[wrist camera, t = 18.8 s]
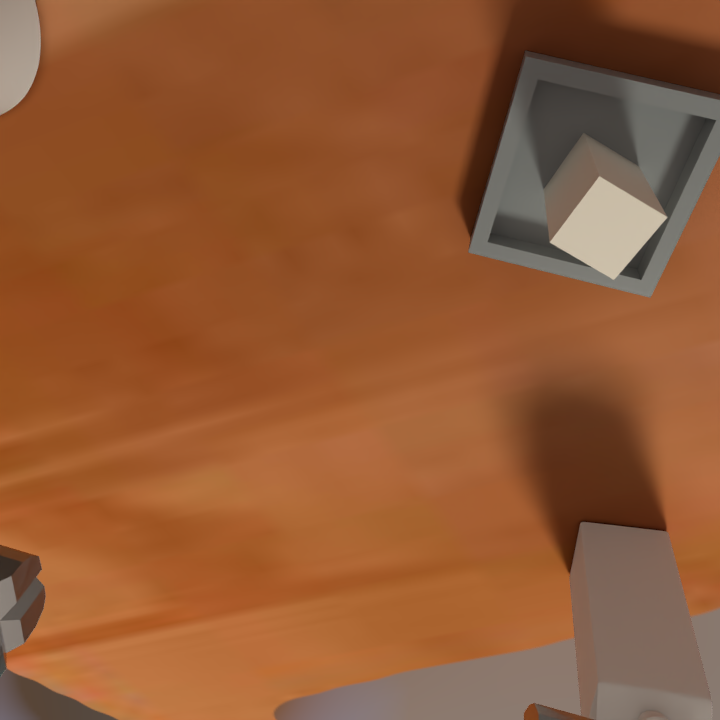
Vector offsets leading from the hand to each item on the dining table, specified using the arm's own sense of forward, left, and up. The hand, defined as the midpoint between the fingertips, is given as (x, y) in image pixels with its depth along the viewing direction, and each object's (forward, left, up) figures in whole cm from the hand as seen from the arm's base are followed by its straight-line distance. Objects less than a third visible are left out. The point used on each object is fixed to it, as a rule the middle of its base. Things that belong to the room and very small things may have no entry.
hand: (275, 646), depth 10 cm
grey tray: (+9, -1, -37) cm, 38 cm away
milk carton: (+23, -32, -37) cm, 54 cm away
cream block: (+9, -1, -36) cm, 37 cm away
